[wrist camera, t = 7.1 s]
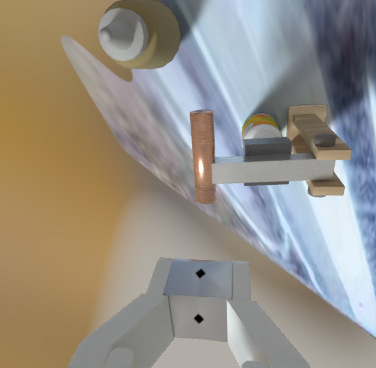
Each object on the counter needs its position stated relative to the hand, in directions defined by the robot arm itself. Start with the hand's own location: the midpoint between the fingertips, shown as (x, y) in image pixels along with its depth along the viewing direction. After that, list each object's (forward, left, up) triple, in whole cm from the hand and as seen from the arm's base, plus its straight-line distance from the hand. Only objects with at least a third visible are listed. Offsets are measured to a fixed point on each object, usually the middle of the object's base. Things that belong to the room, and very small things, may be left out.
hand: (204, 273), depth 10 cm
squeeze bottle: (-8, -10, -37) cm, 39 cm away
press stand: (+6, +10, -37) cm, 39 cm away
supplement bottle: (+6, +5, -37) cm, 38 cm away
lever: (+4, +3, -25) cm, 26 cm away
